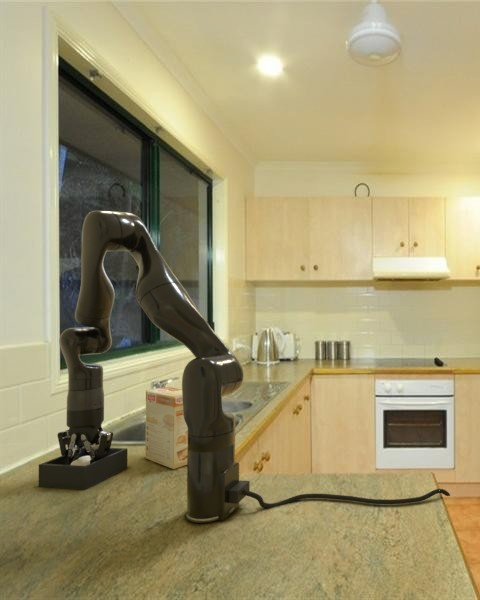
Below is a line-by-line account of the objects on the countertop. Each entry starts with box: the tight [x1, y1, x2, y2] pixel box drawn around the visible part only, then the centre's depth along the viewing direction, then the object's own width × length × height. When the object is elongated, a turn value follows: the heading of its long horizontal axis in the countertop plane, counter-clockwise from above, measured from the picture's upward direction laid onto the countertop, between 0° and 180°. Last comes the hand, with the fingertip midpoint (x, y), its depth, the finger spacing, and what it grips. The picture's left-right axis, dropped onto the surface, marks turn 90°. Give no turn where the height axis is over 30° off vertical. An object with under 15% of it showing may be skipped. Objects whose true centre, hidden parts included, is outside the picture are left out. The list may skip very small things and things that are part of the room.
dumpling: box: [70, 456, 91, 466], centre depth 102 cm, size 7×5×4 cm
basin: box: [38, 447, 128, 491], centre depth 102 cm, size 13×13×5 cm
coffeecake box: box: [144, 386, 188, 470], centre depth 114 cm, size 15×7×20 cm, turn 58°
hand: (85, 472), depth 102 cm, fingers closed on dumpling, 5 cm apart
